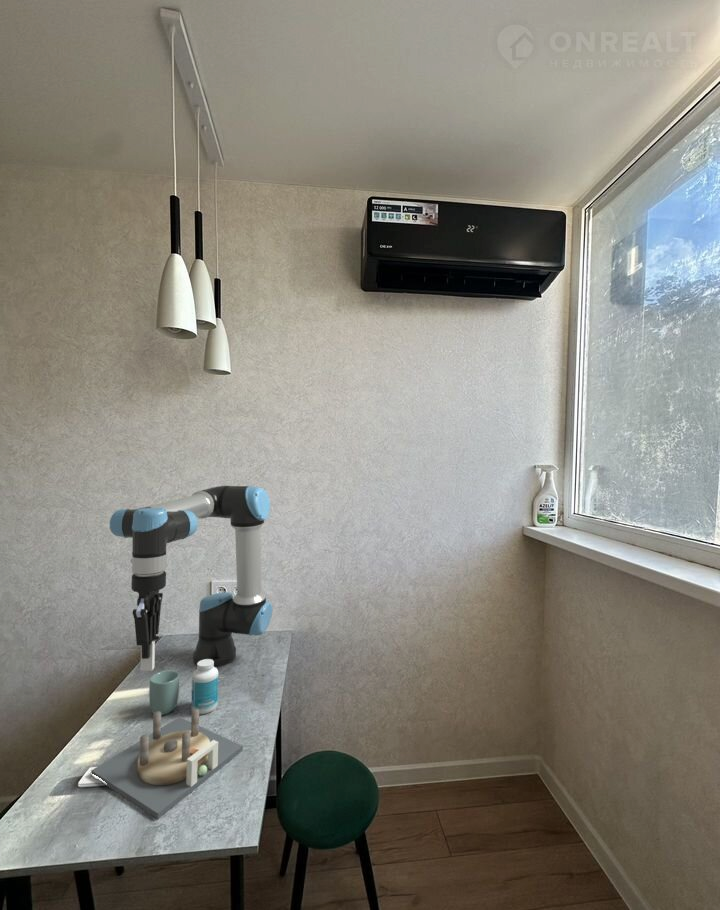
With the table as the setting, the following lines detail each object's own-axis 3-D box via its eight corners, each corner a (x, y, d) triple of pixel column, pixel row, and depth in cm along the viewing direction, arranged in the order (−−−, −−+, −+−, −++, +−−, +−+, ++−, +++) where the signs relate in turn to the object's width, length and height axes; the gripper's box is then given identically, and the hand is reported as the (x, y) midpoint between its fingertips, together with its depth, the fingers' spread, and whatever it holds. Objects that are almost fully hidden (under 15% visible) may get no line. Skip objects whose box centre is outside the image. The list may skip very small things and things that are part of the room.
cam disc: (121, 761, 101) (122, 727, 102) (183, 728, 114) (184, 698, 115) (160, 796, 91) (161, 759, 91) (223, 755, 104) (224, 722, 104)
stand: (179, 721, 120) (179, 696, 120) (243, 750, 108) (243, 723, 108) (91, 775, 99) (92, 746, 99) (158, 819, 87) (159, 786, 87)
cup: (167, 720, 120) (168, 685, 120) (142, 716, 122) (143, 681, 122) (183, 705, 128) (184, 671, 128) (160, 701, 129) (161, 668, 129)
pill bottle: (223, 706, 128) (224, 660, 128) (202, 718, 121) (203, 670, 121) (206, 698, 131) (207, 654, 132) (185, 710, 125) (186, 664, 125)
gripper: (143, 565, 110) (142, 657, 110) (120, 580, 97) (119, 684, 97) (173, 565, 110) (172, 656, 110) (155, 579, 97) (153, 682, 97)
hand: (147, 669), depth 104 cm, fingers closed
